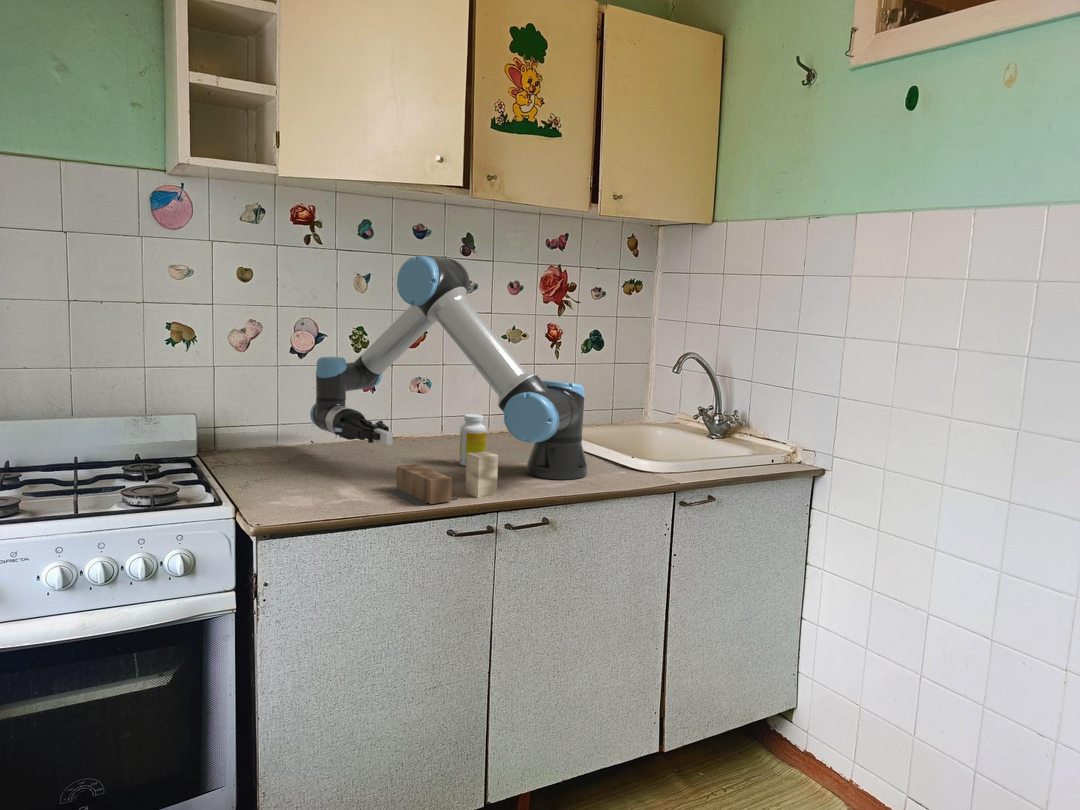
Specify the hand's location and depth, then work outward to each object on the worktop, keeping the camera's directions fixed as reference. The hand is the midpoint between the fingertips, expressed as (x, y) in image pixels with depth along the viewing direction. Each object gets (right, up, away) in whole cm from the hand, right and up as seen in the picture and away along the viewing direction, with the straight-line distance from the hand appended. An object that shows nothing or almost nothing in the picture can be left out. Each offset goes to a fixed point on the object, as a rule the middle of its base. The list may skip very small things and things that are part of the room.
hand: (389, 439), depth 181 cm
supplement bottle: (+17, -8, +22) cm, 29 cm away
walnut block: (+5, -8, -5) cm, 11 cm away
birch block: (+22, -12, -7) cm, 26 cm away
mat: (+9, -12, -10) cm, 18 cm away
